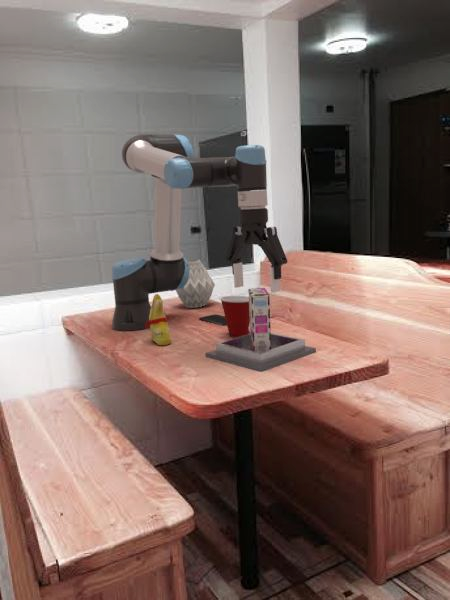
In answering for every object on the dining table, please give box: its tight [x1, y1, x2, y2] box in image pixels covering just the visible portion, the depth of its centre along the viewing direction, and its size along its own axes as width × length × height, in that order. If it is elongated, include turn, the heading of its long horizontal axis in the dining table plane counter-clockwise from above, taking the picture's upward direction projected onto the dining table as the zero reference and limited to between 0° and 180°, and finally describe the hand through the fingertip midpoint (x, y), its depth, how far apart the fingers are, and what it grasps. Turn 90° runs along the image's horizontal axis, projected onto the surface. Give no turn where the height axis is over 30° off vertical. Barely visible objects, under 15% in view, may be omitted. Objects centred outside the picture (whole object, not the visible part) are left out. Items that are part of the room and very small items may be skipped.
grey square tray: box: [205, 332, 317, 372], centre depth 144 cm, size 21×21×4 cm
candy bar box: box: [247, 287, 272, 353], centre depth 143 cm, size 11×5×16 cm, turn 2°
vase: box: [175, 259, 216, 309], centre depth 214 cm, size 16×16×18 cm
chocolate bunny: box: [145, 293, 172, 346], centre depth 162 cm, size 7×11×15 cm, turn 25°
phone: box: [198, 313, 227, 327], centre depth 187 cm, size 8×1×15 cm
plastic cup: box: [219, 295, 250, 338], centre depth 165 cm, size 11×11×12 cm
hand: (256, 289), depth 141 cm, fingers open, 13 cm apart
